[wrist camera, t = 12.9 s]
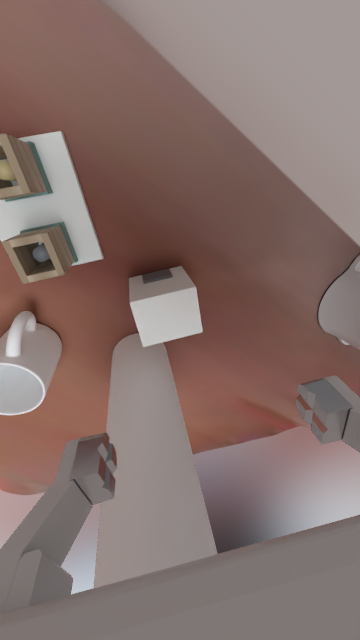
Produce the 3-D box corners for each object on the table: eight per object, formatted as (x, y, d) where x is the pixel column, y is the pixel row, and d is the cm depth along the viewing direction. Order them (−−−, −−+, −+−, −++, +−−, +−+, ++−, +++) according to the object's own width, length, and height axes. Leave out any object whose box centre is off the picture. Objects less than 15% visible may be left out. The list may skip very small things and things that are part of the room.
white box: (180, 263, 37) (195, 284, 29) (187, 304, 40) (202, 332, 32) (128, 275, 36) (128, 299, 28) (139, 315, 39) (143, 347, 32)
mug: (3, 292, 34) (-41, 329, 25) (67, 303, 36) (48, 340, 27) (4, 362, 39) (-32, 414, 30) (61, 367, 41) (43, 417, 32)
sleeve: (34, 143, 26) (7, 130, 20) (53, 193, 29) (33, 194, 23) (-12, 151, 26) (-55, 140, 20) (11, 201, 28) (-21, 204, 22)
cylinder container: (101, 347, 41) (60, 625, 15) (153, 324, 41) (201, 564, 15) (128, 384, 46) (131, 644, 20) (174, 363, 45) (239, 598, 19)
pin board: (63, 133, 27) (47, 119, 22) (103, 256, 34) (99, 269, 29) (-40, 151, 26) (-83, 141, 21) (23, 274, 33) (3, 291, 28)
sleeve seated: (63, 221, 30) (48, 229, 24) (78, 259, 33) (67, 275, 27) (24, 229, 30) (-2, 240, 24) (41, 267, 32) (22, 286, 26)
